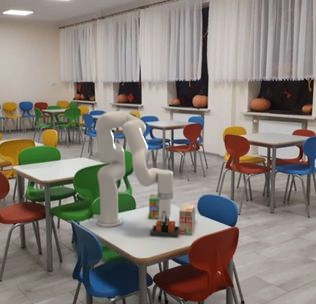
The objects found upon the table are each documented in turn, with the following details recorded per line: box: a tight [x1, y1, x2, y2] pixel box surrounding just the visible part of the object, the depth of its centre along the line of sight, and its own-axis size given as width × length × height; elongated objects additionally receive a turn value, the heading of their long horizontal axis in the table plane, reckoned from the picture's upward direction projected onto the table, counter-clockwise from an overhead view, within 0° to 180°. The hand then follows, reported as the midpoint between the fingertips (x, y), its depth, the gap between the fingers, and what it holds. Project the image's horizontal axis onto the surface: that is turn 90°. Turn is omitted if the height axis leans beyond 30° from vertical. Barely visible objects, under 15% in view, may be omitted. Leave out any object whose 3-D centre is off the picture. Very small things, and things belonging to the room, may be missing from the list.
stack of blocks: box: [178, 203, 196, 236], centre depth 218 cm, size 21×6×12 cm, turn 168°
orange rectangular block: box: [155, 219, 176, 233], centre depth 210 cm, size 9×5×4 cm, turn 79°
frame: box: [149, 224, 180, 238], centre depth 211 cm, size 14×10×2 cm
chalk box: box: [148, 194, 162, 220], centre depth 235 cm, size 9×9×15 cm
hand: (165, 230), depth 210 cm, fingers closed on orange rectangular block, 5 cm apart
